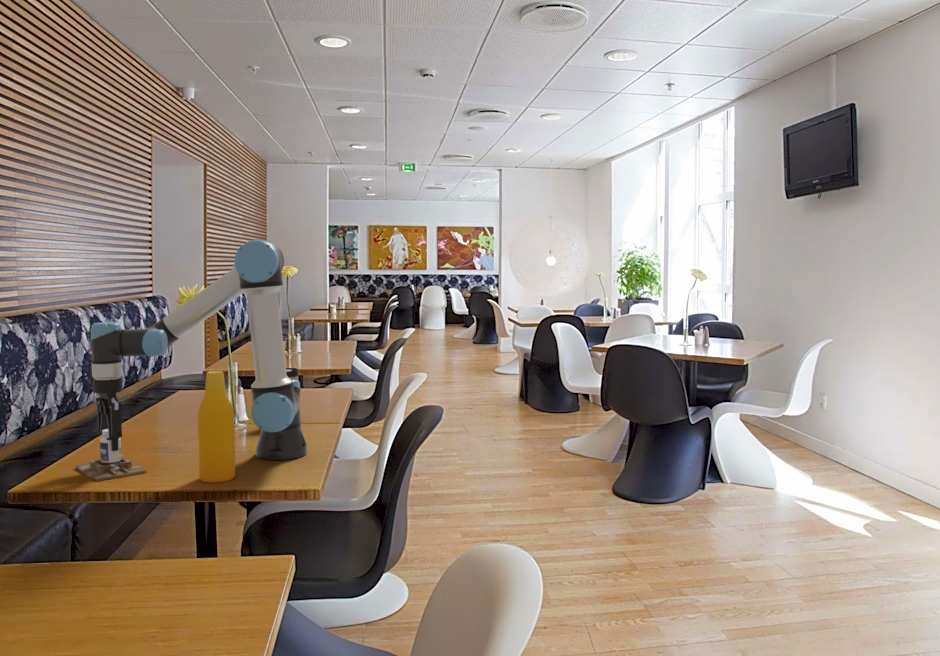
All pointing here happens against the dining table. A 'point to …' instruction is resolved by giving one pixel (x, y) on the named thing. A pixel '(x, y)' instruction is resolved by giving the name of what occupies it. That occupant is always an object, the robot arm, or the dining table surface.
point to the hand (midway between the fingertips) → (110, 459)
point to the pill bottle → (106, 447)
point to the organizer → (110, 469)
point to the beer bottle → (216, 432)
